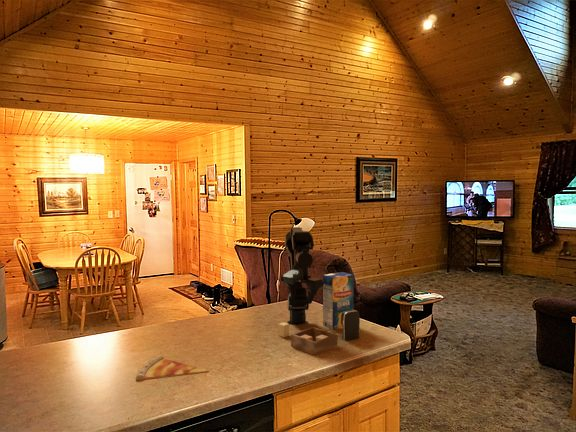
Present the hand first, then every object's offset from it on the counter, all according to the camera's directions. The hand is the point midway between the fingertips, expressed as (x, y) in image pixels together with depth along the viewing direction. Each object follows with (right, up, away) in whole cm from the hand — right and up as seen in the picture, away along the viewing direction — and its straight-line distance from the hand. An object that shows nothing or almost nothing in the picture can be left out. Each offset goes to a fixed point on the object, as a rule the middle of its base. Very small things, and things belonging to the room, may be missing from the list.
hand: (301, 301), depth 175 cm
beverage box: (+16, -13, +9) cm, 22 cm away
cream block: (+7, -14, -15) cm, 21 cm away
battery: (+18, -14, -6) cm, 24 cm away
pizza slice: (-44, -17, -36) cm, 59 cm away
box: (+4, -14, -15) cm, 21 cm away
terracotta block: (+1, -14, -15) cm, 20 cm away
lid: (-7, -14, -3) cm, 16 cm away
